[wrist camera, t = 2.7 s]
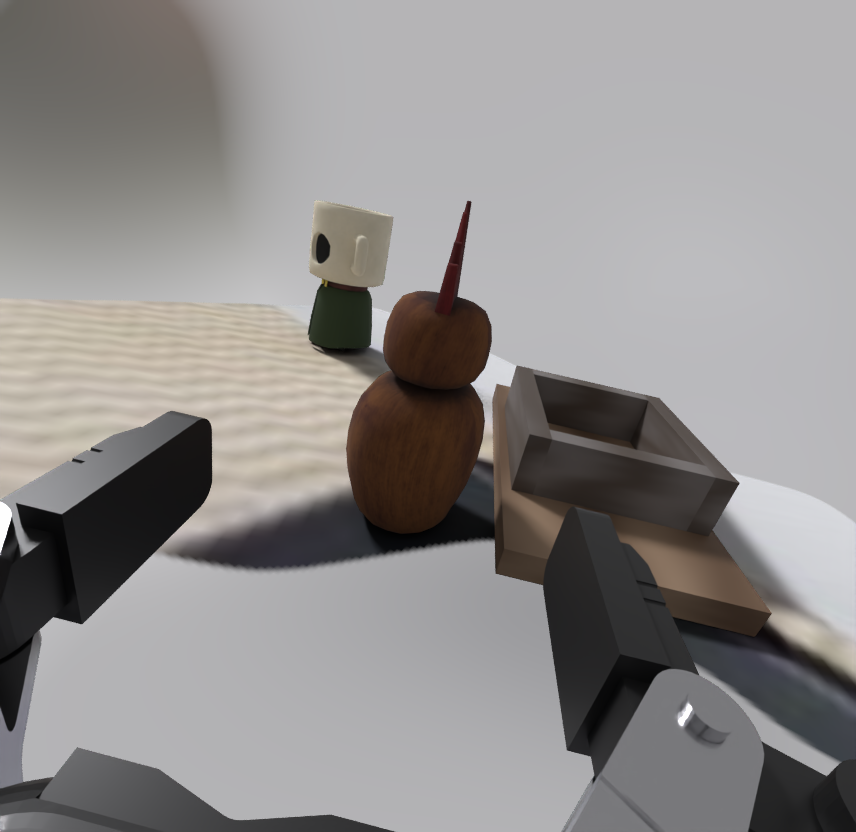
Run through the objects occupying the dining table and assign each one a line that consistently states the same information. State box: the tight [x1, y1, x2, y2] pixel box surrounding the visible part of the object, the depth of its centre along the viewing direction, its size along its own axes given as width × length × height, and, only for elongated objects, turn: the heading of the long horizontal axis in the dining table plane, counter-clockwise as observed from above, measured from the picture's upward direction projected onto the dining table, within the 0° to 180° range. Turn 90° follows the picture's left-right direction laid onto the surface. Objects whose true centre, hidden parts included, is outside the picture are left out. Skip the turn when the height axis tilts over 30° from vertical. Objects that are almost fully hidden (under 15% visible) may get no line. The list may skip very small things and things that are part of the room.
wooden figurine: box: [346, 201, 492, 534], centre depth 20 cm, size 7×6×15 cm
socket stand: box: [493, 366, 772, 637], centre depth 29 cm, size 12×22×5 cm, turn 173°
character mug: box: [308, 200, 393, 351], centre depth 43 cm, size 11×7×13 cm, turn 19°
